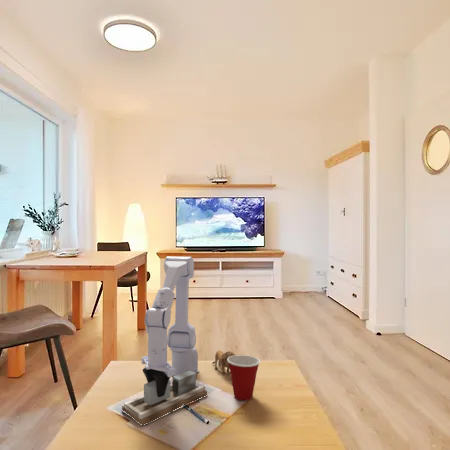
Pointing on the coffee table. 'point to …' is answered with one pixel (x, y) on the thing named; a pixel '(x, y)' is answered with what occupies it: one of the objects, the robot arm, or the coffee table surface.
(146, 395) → the gripped grey block
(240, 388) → the plastic cup
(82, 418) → the coffee table surface
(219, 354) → the lion figurine
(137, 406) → the raised edge track
